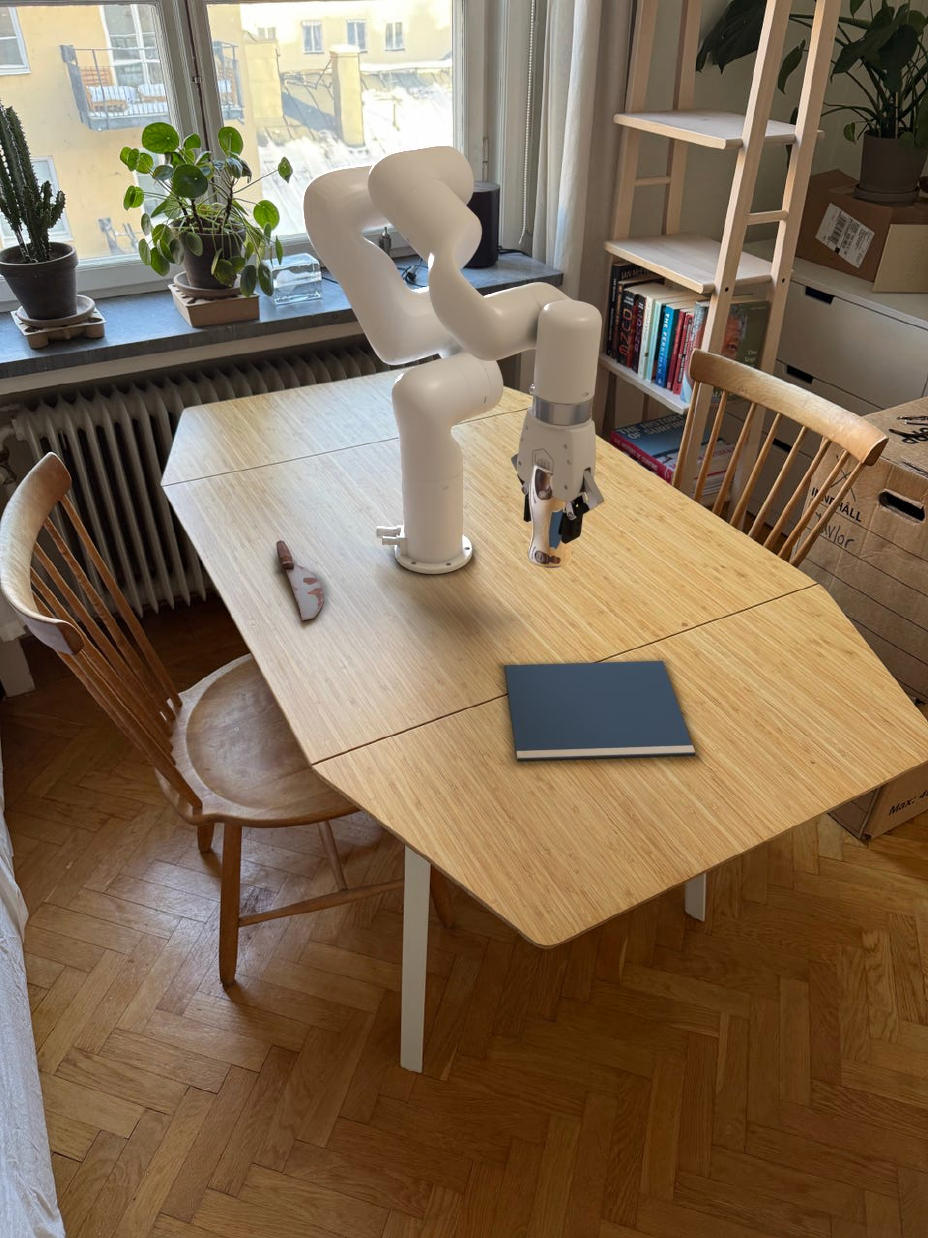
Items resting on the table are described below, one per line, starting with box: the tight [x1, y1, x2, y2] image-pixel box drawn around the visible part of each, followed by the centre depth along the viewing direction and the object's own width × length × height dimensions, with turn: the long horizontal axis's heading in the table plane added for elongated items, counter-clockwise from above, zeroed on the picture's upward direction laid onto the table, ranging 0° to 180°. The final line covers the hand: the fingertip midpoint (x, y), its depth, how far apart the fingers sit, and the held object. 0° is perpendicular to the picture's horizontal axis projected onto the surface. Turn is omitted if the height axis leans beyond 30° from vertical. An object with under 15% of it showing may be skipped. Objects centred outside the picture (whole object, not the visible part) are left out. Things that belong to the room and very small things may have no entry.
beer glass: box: [526, 462, 578, 569], centre depth 123 cm, size 7×7×15 cm
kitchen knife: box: [275, 539, 325, 621], centre depth 143 cm, size 21×2×5 cm
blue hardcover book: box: [504, 660, 696, 762], centre depth 120 cm, size 22×18×1 cm
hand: (551, 527), depth 125 cm, fingers closed on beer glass, 6 cm apart
